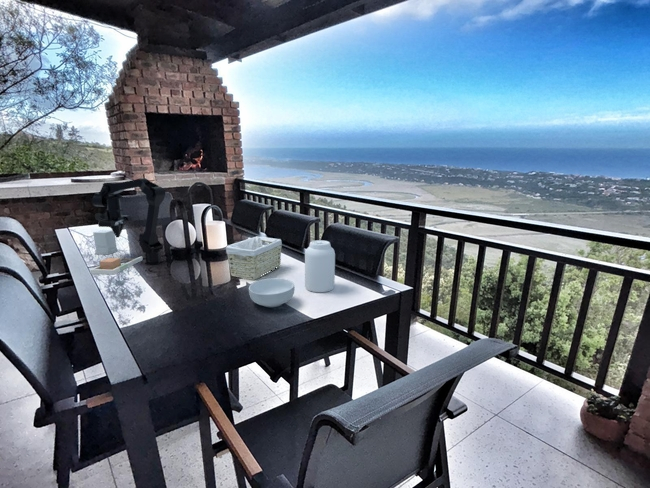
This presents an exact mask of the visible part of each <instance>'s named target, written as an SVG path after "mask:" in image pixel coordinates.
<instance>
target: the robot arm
mask: <svg viewBox="0 0 650 488" xmlns="http://www.w3.org/2000/svg"><path fill="white" fill-rule="evenodd" d="M137 188H139V189H140V190H141V192H142V194H144V195H145V200H146V201H147V203H148V207H147V214H146V222H145V226H144V227H145V228H144V232H141V233H139V235H138V242H139V246H140V248H141V249H142V250H141V251H142V253H144V254H145V255H144V256H145V263H144V265H158V264H159V265H160V263H163V262H164V259H162V251H161V250H163V248H164V245H163V244H162V243H161V242H160V241H159V236H158V233H157V225H158V221H159V213H160V212H159V211H160V207H161V206H160V205H161V204H162V203H163V201H164V199H165V196H166V190H165V189H164V188H163V187H162V186H160V185H158V184H156V183H154V182H153V181H150V180H149V179H148V178H145V177H141V178H137V179H132V180H126V181H117V182H116V181H113V182H112V181H111V182H104V183H102V186H101V189H100V191H99V192H94V195H93V196H92V198H91V203H92V205H93V206H94V207H103V208H104V207H105V208H106V209H105V210H104V213H101V212H97V213H95V214H94V217H95V220H96V221H98V223H97V224H98V227H100V228H102V227H103V228H111V229H110V230H113V232H114V234H115V238H119V237H121V233H122V231H123V230H124V228H125V225H126V222H123V221H127V222H132V220H133V219H132V216H131V215H126V214H125V215H123V214H122V212H123V211H124V209H123V208H121V201H120V199H124V197H123V196H122V195H121V194H120V193H122V192H124V191H126V190H131V189H137Z"/></svg>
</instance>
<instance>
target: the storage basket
mask: <svg viewBox="0 0 650 488" xmlns="http://www.w3.org/2000/svg"><path fill="white" fill-rule="evenodd" d="M282 242H283V241H282V239H281V238H273V237H266V236H257V235H256V236H254V237H249V238H247V239H243V240H242V241H237V242H235V243H232V244H227V246H225V250H226V256H227V259H228V264H229V265H228V266H229V270H230V275H231V276H232V277H235V278H236V277H237V278H242V279H246V280H250V281H257V280H259V279H260V278H262V277H263V276H265V275H268V274H270V273H272V272H273V271H275V270H277V269H280V267H281V259H282V246H283V245H282ZM263 243H265V245H263ZM266 243H267V244H266ZM279 265H280V266H279ZM276 267H278V268H276ZM275 268H276V269H275ZM271 270H272V271H271ZM269 271H270V272H269ZM267 272H268V273H267ZM265 273H266V274H265ZM263 274H264V275H263ZM261 275H262V276H261Z"/></svg>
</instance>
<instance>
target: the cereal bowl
mask: <svg viewBox="0 0 650 488" xmlns="http://www.w3.org/2000/svg"><path fill="white" fill-rule="evenodd" d="M248 294H249V296H250V299H251V301H252V302H254V303H255V304H257V305H259V306H263V307H266V308H277V307H280V306H282V305H284V304H285V303H287V302H289V301H290V300H291V299H292V298H293V296H294V294H295V283H294V282H293V281H291V280H289V279H285V278H280V277H278V278H277V277H276V278H275V277H273V278H266V279H265V278H263V279H260V280H259V279H258V280H255V281H254V282H252V283H250V285H249V287H248Z"/></svg>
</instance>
